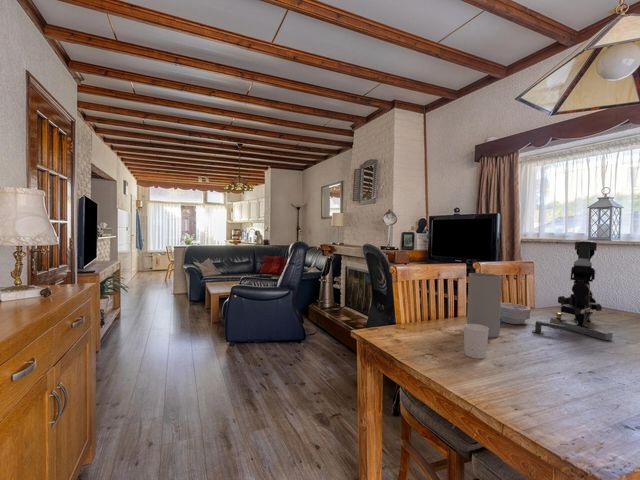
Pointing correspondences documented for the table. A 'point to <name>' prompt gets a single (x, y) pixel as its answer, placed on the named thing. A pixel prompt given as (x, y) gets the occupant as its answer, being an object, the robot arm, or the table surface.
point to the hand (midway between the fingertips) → (580, 327)
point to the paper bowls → (514, 313)
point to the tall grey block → (485, 301)
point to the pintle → (558, 315)
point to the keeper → (540, 324)
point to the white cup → (475, 340)
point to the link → (583, 329)
